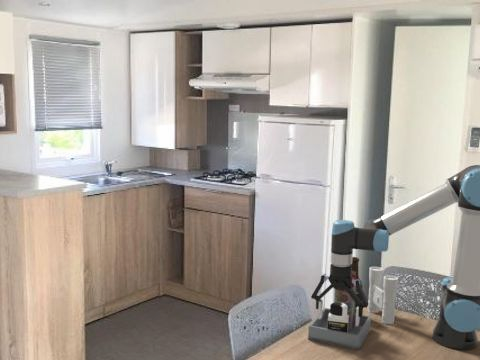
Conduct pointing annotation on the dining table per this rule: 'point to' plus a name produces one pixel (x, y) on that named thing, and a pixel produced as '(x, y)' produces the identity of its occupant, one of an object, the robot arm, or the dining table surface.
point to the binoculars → (382, 294)
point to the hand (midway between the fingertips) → (338, 321)
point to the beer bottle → (355, 268)
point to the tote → (339, 332)
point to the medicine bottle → (338, 317)
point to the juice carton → (348, 302)
